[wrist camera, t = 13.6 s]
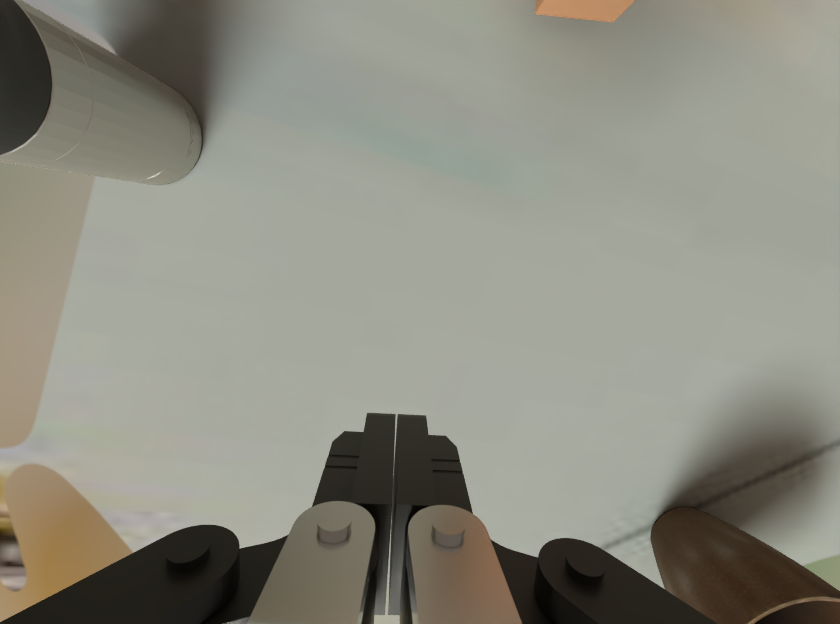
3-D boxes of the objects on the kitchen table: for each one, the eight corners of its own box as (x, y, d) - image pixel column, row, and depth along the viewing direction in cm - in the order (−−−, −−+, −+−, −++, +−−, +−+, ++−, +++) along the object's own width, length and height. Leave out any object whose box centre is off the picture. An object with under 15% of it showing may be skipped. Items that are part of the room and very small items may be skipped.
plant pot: (721, 588, 53) (854, 741, 37) (608, 581, 52) (696, 735, 36) (753, 484, 50) (913, 603, 34) (633, 474, 49) (742, 592, 33)
